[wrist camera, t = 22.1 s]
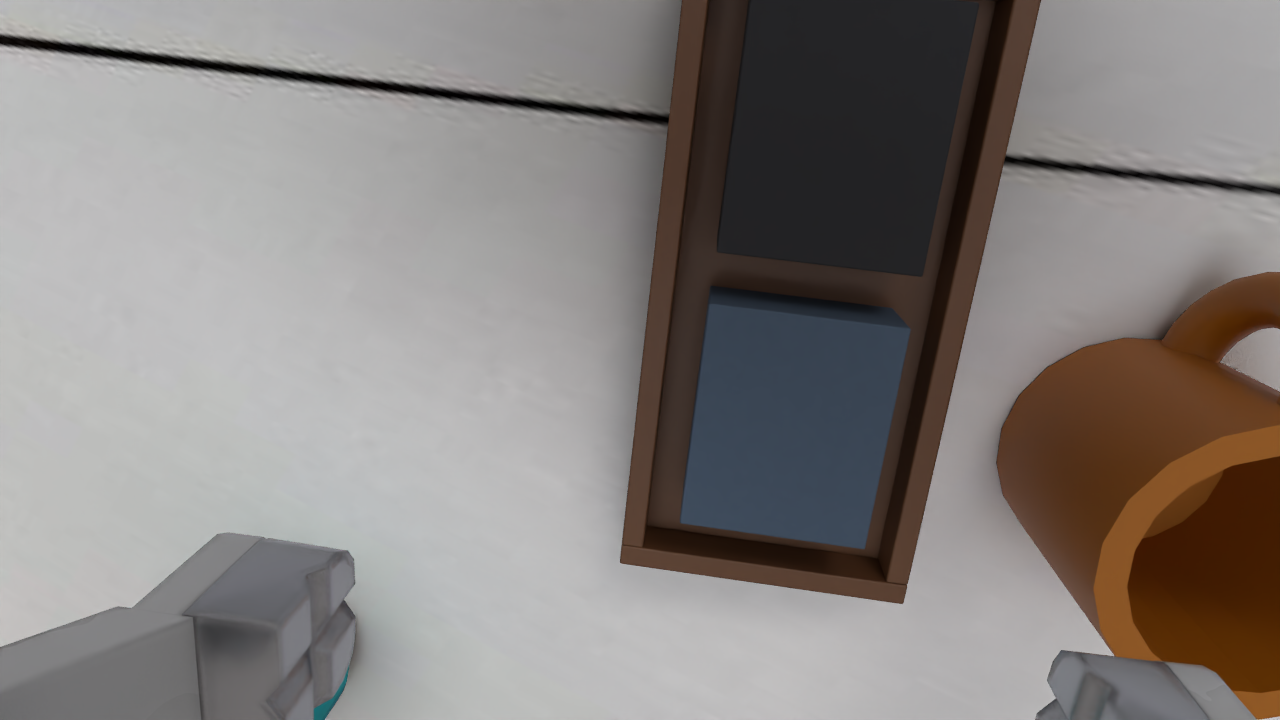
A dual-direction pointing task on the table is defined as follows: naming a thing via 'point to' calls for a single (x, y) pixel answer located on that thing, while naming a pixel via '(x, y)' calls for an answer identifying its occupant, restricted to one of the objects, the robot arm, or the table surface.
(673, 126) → the frame
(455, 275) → the table surface
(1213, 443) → the mug
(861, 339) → the slate pad
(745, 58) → the charcoal pad
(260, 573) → the robot arm
